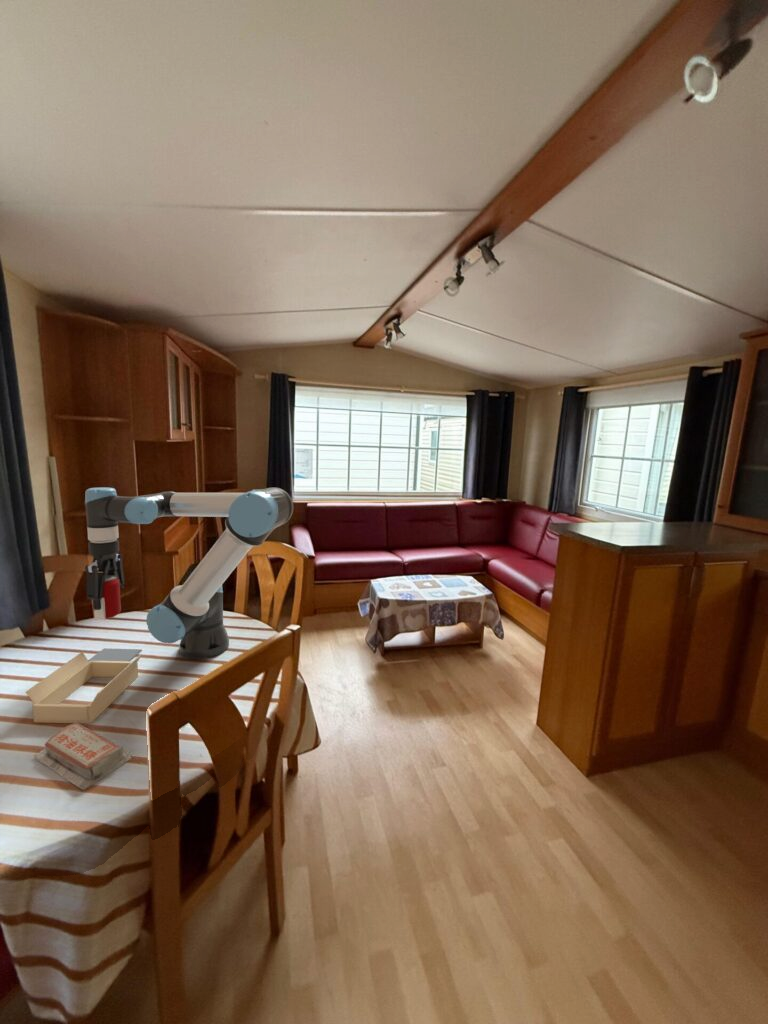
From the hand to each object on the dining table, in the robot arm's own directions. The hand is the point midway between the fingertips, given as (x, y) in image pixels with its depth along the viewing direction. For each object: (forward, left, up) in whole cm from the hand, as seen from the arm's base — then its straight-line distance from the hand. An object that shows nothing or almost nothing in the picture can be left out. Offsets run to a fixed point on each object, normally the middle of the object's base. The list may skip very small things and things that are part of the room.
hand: (108, 613), depth 124 cm
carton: (-7, +19, -15) cm, 25 cm away
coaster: (0, 0, -15) cm, 15 cm away
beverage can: (0, 0, -1) cm, 1 cm away
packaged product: (-19, +40, -16) cm, 47 cm away
